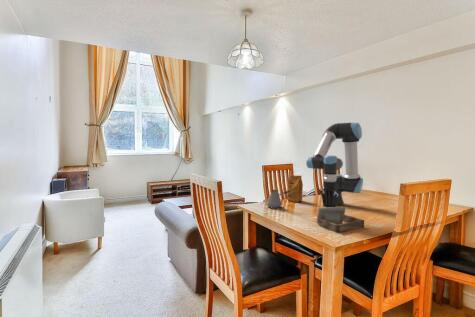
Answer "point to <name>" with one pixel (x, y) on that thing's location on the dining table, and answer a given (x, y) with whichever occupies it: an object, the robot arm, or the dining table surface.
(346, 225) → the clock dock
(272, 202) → the coffee pot
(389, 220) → the dining table surface
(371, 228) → the dining table surface
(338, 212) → the digital clock
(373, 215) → the dining table surface
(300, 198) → the coffee package
